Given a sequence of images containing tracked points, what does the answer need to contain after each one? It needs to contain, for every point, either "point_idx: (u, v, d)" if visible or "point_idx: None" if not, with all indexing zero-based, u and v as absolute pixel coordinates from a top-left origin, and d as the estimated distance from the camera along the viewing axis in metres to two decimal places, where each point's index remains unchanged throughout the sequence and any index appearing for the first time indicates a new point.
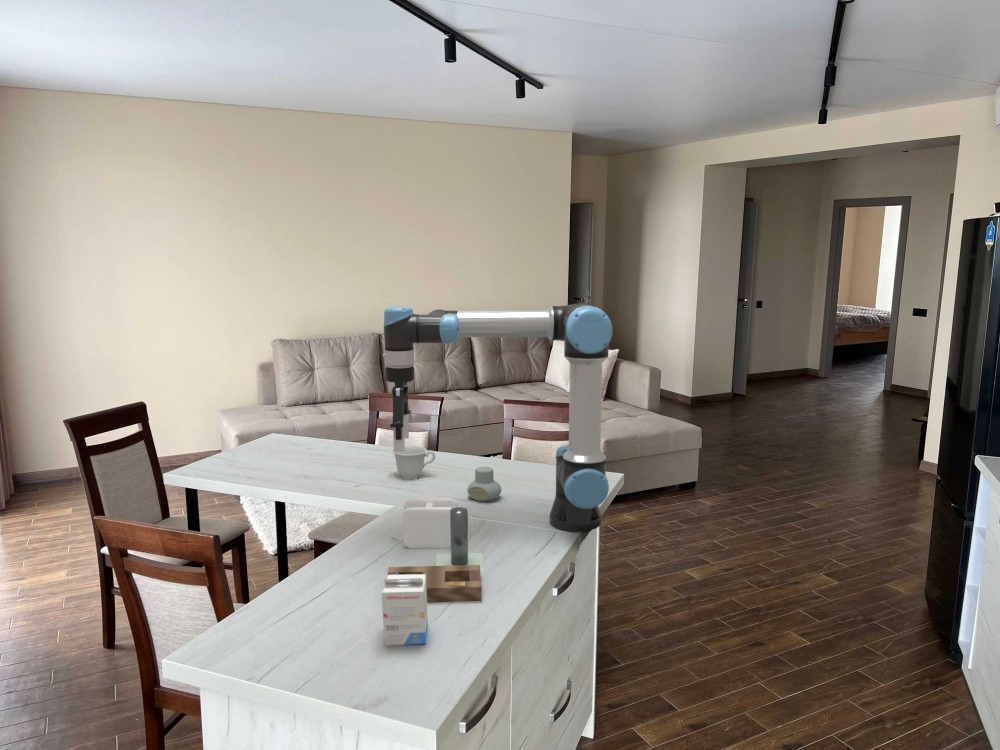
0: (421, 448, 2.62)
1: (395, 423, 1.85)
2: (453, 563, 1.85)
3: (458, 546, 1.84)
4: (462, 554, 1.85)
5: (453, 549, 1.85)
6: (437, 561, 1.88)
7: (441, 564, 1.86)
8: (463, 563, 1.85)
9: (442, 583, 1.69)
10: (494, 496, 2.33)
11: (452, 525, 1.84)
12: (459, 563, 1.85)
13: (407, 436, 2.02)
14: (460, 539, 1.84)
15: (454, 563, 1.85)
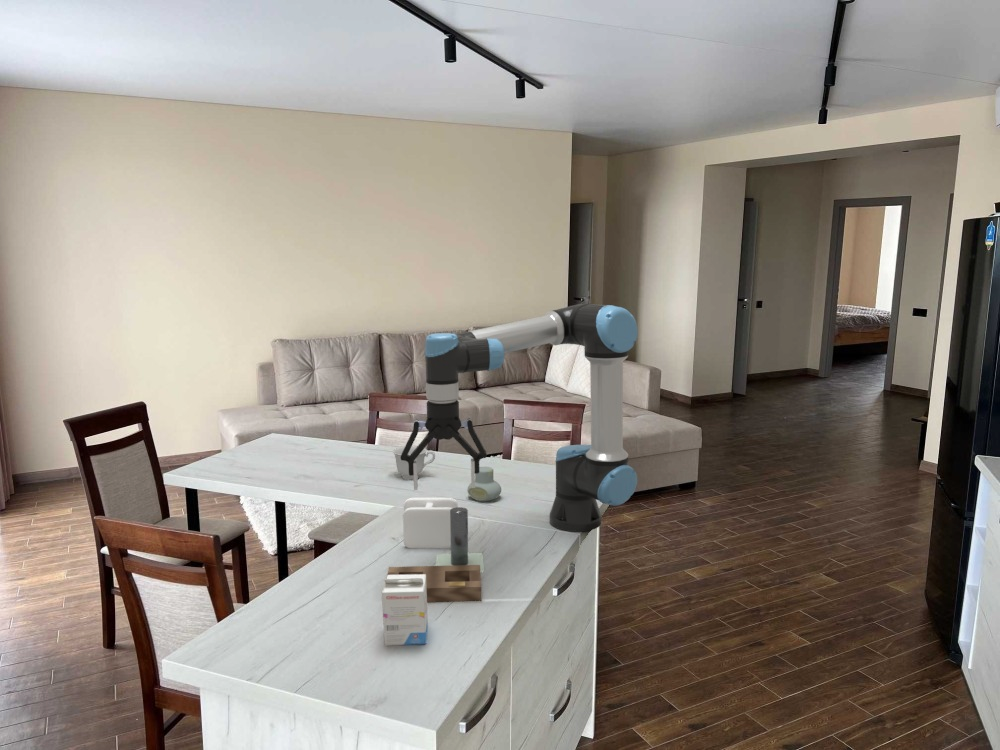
0: None
1: (401, 455, 1.74)
2: (453, 563, 1.85)
3: (458, 546, 1.84)
4: (462, 554, 1.85)
5: (453, 549, 1.85)
6: (437, 561, 1.88)
7: (441, 564, 1.86)
8: (463, 563, 1.85)
9: (442, 583, 1.69)
10: (494, 496, 2.33)
11: (452, 525, 1.84)
12: (459, 563, 1.85)
13: (471, 485, 1.74)
14: (460, 539, 1.84)
15: (454, 563, 1.85)
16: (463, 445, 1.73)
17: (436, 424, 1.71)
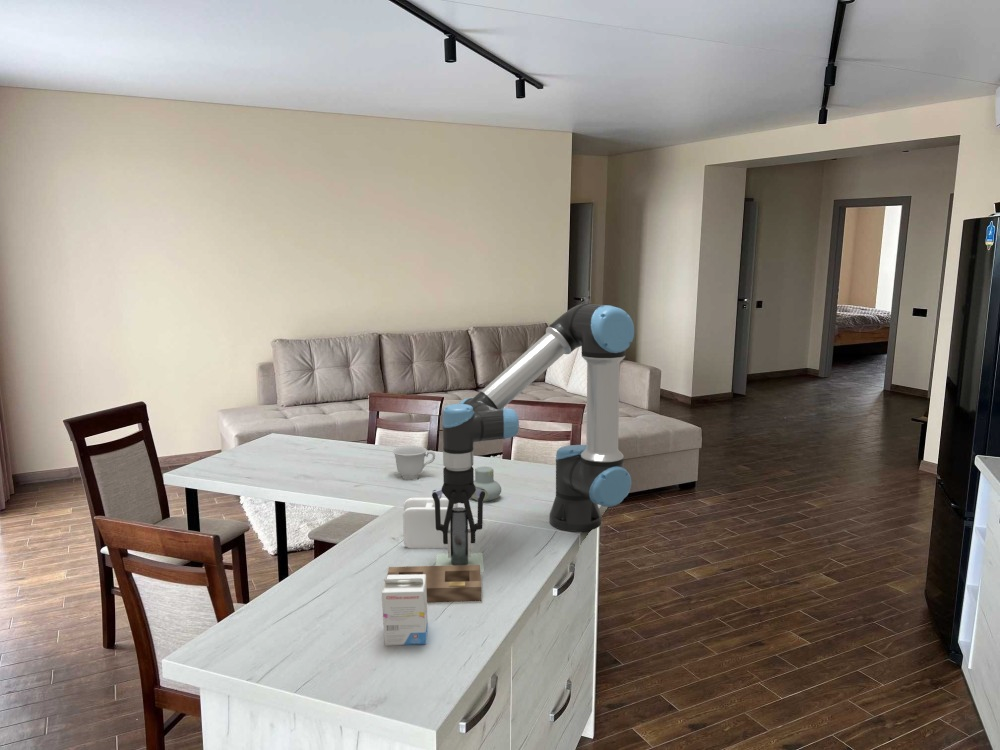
0: (421, 448, 2.62)
1: None
2: (453, 563, 1.85)
3: (458, 546, 1.84)
4: (462, 554, 1.85)
5: (453, 549, 1.85)
6: (437, 561, 1.88)
7: (441, 564, 1.86)
8: (463, 563, 1.85)
9: (442, 583, 1.69)
10: (494, 496, 2.33)
11: (452, 525, 1.84)
12: (459, 563, 1.85)
13: None
14: (460, 539, 1.84)
15: (454, 563, 1.85)
16: (467, 513, 1.84)
17: (450, 490, 1.83)
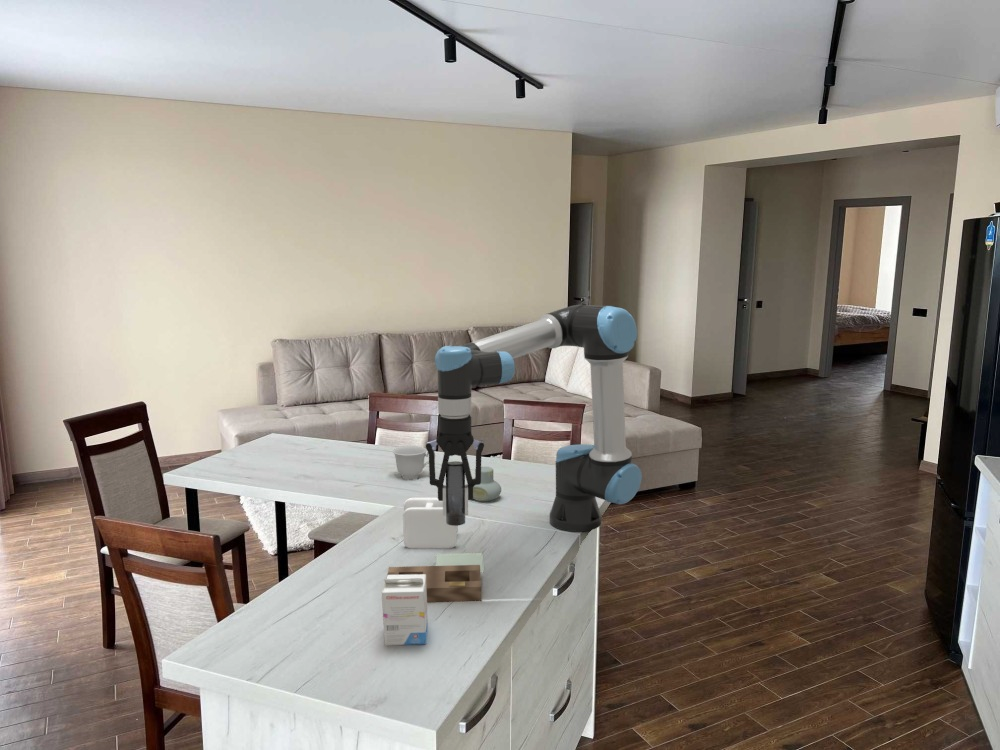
0: (421, 448, 2.62)
1: None
2: (449, 522, 1.69)
3: (454, 503, 1.68)
4: (458, 512, 1.68)
5: (449, 506, 1.68)
6: (437, 561, 1.88)
7: (441, 564, 1.86)
8: (460, 522, 1.69)
9: (442, 583, 1.69)
10: (494, 496, 2.33)
11: (448, 480, 1.68)
12: (455, 522, 1.69)
13: None
14: (457, 496, 1.68)
15: (450, 522, 1.69)
16: (465, 466, 1.68)
17: (446, 441, 1.66)
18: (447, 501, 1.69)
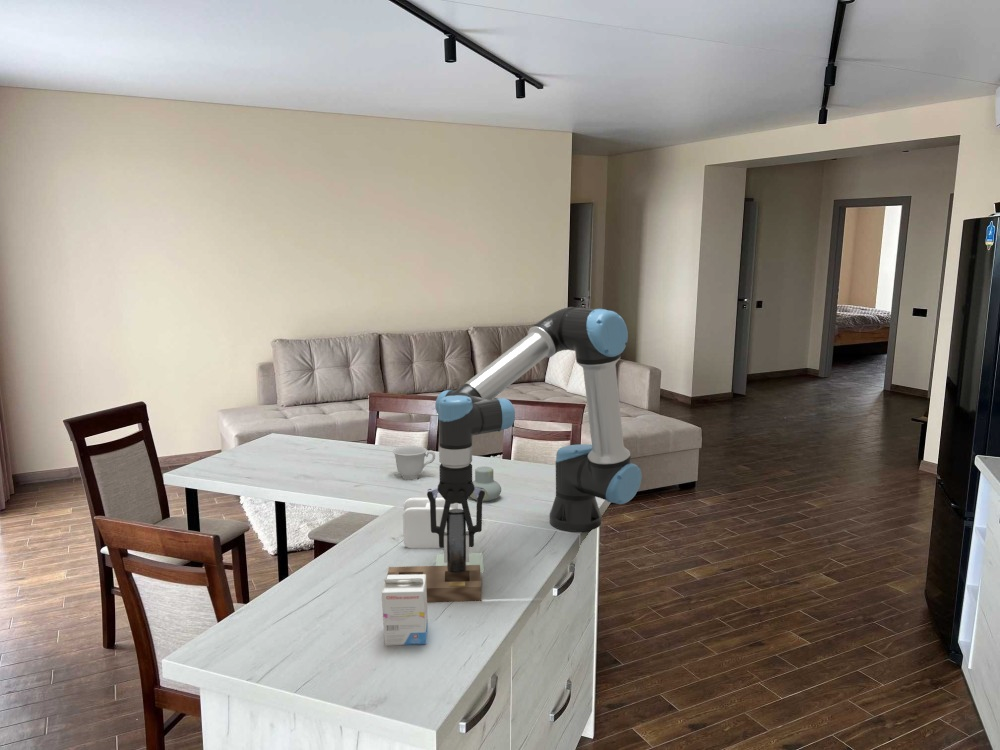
0: (421, 448, 2.62)
1: None
2: (450, 569, 1.71)
3: (455, 551, 1.69)
4: (459, 560, 1.70)
5: (450, 554, 1.70)
6: (437, 561, 1.88)
7: (441, 564, 1.86)
8: (461, 569, 1.70)
9: (442, 583, 1.69)
10: (494, 496, 2.33)
11: (449, 528, 1.69)
12: (456, 569, 1.70)
13: None
14: (458, 544, 1.69)
15: (451, 569, 1.70)
16: (466, 514, 1.69)
17: (447, 489, 1.68)
18: (448, 549, 1.70)
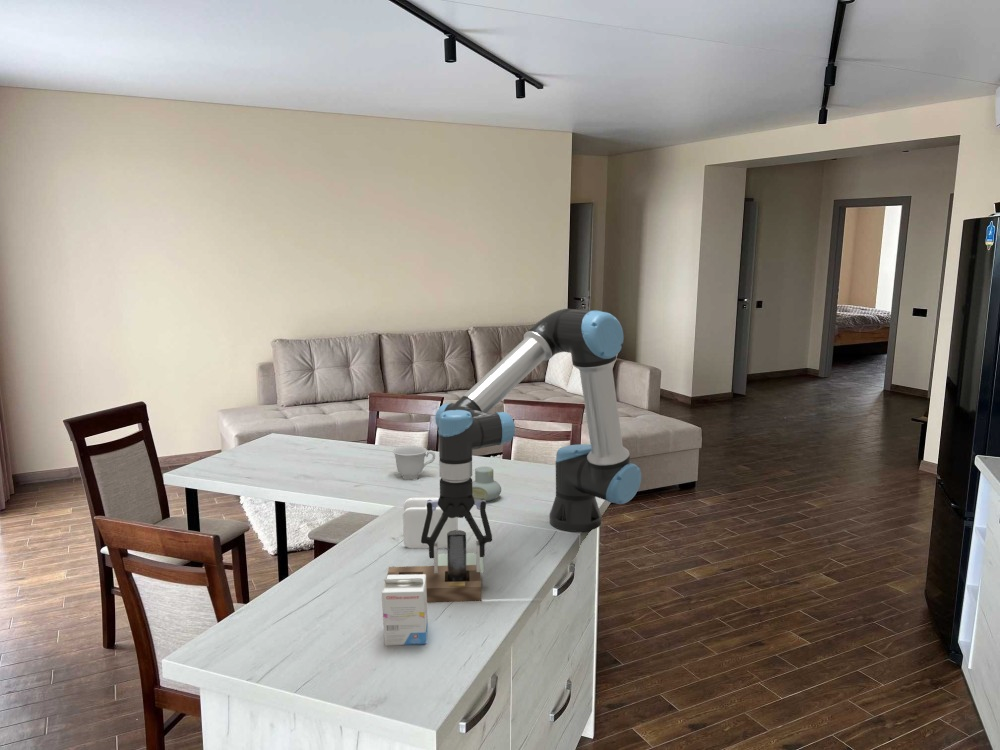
0: (421, 448, 2.62)
1: (421, 537, 1.71)
2: None
3: (456, 572, 1.70)
4: None
5: (451, 575, 1.71)
6: None
7: (441, 564, 1.86)
8: None
9: (442, 583, 1.69)
10: (494, 496, 2.33)
11: (449, 550, 1.70)
12: None
13: None
14: (458, 565, 1.70)
15: None
16: (472, 526, 1.70)
17: (448, 503, 1.69)
18: (449, 570, 1.71)
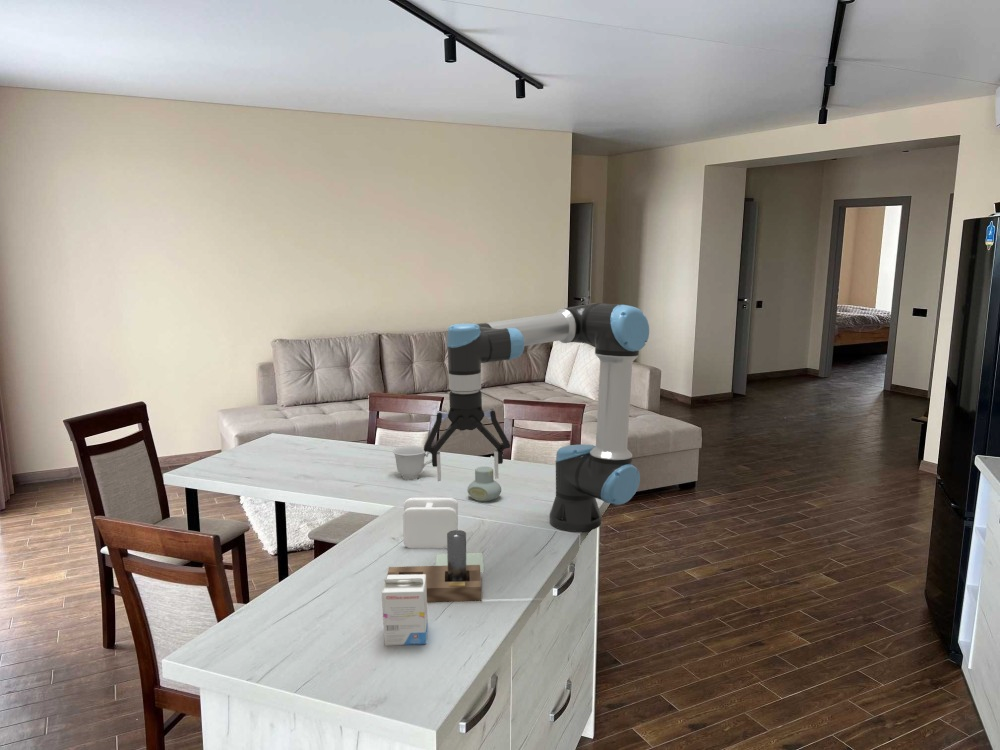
0: (421, 448, 2.62)
1: (424, 446, 1.73)
2: None
3: (456, 572, 1.70)
4: None
5: (451, 575, 1.71)
6: (437, 561, 1.88)
7: (441, 564, 1.86)
8: None
9: (442, 583, 1.69)
10: (494, 496, 2.33)
11: (449, 550, 1.70)
12: None
13: (495, 476, 1.74)
14: (458, 565, 1.70)
15: None
16: (486, 435, 1.72)
17: (459, 415, 1.71)
18: (449, 570, 1.71)
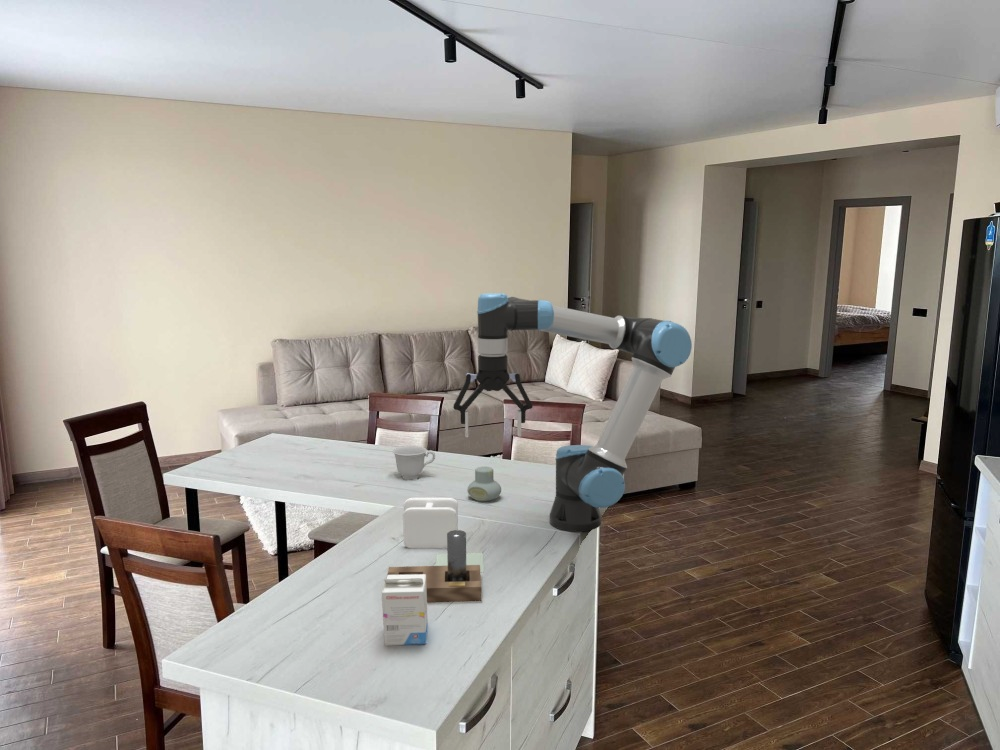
0: (421, 448, 2.62)
1: None
2: None
3: (456, 572, 1.70)
4: None
5: (451, 575, 1.71)
6: (437, 561, 1.88)
7: (441, 564, 1.86)
8: None
9: (442, 583, 1.69)
10: (494, 496, 2.33)
11: (449, 550, 1.70)
12: None
13: (518, 434, 1.89)
14: (458, 565, 1.70)
15: None
16: (511, 396, 1.88)
17: (486, 376, 1.86)
18: (449, 570, 1.71)
